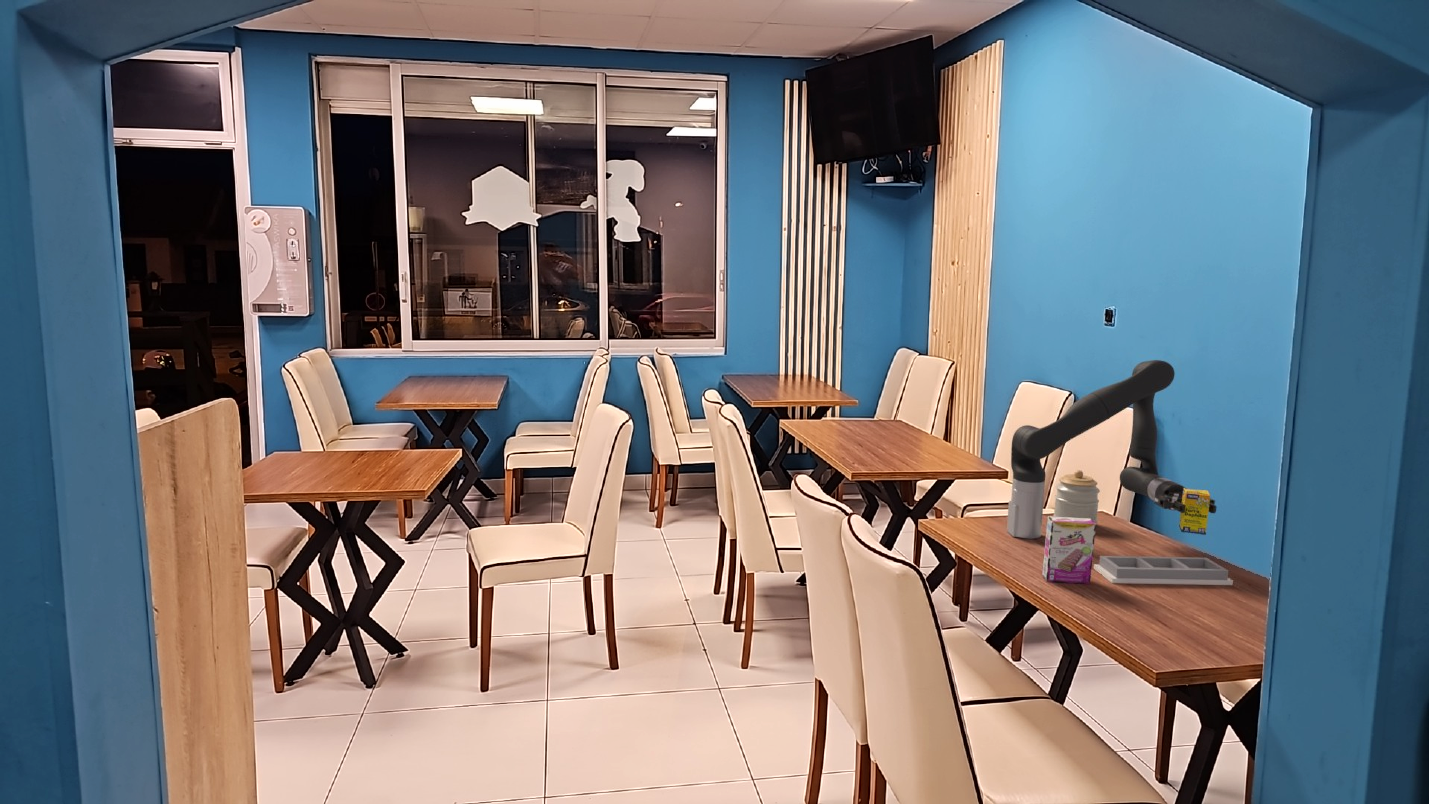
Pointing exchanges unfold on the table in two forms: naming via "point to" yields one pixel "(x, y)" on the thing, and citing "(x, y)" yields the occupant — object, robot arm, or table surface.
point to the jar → (1077, 497)
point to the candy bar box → (1069, 549)
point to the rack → (1162, 570)
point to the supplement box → (1194, 511)
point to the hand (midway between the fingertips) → (1199, 509)
